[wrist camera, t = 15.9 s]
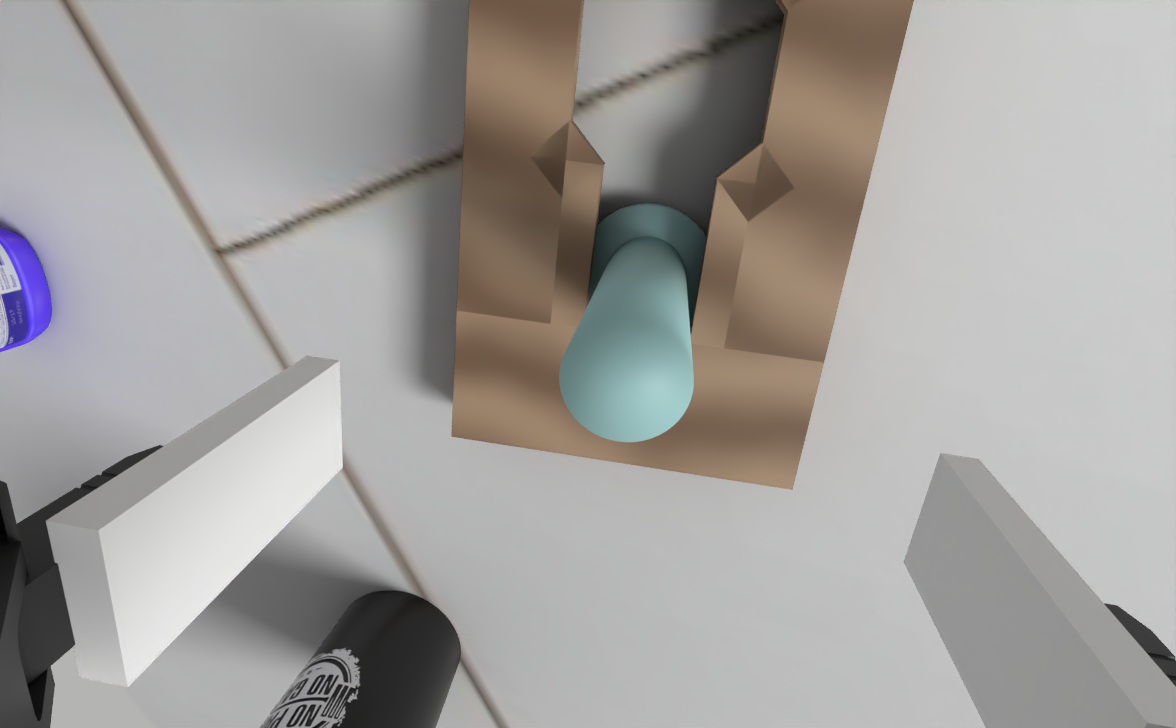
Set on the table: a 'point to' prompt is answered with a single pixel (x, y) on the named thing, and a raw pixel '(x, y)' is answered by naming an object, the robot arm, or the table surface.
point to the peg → (636, 325)
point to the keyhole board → (732, 249)
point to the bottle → (21, 292)
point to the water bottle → (376, 669)
